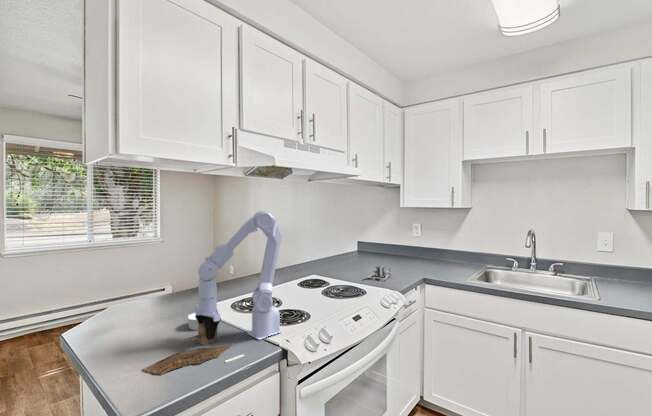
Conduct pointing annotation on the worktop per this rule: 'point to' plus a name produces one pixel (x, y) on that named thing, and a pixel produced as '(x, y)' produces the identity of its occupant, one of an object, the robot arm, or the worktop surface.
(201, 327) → the mallet
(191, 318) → the ramekin
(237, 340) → the worktop surface
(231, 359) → the strip
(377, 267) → the bike brake
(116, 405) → the worktop surface
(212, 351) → the wooden fragment
